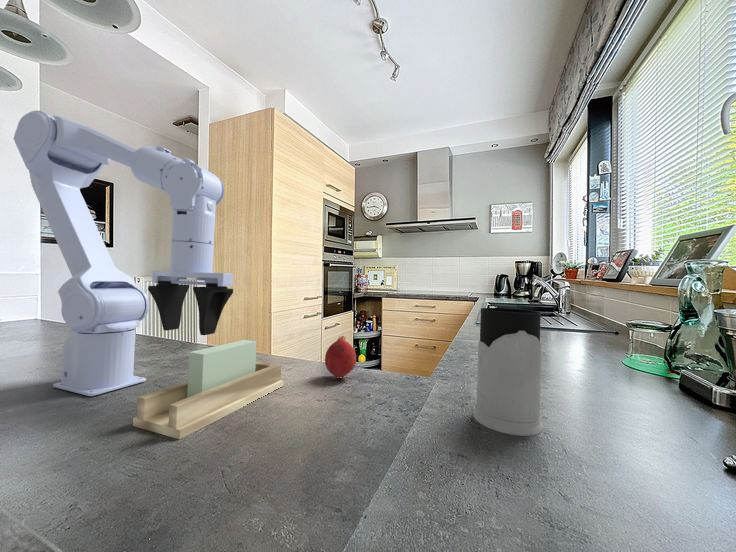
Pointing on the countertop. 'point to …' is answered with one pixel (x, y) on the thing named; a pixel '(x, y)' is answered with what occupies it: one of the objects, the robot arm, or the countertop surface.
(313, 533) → the countertop surface
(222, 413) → the floor track
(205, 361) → the door panel
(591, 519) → the countertop surface
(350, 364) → the onion
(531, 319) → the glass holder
